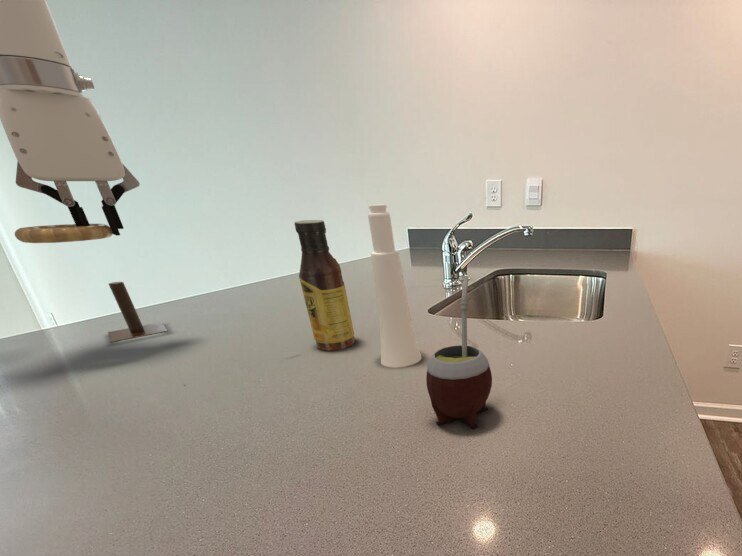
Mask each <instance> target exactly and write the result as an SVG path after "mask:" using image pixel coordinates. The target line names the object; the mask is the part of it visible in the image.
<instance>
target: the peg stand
mask: <svg viewBox="0 0 742 556" xmlns="http://www.w3.org/2000/svg"><path fill="white" fill-rule="evenodd" d="M108 286H109V289H110V290H111V293H112V296H113V297H114V299H115V301H116V304H117V306H118V308H119V310H120V312H121V314H122V317H123V320H124V321H125V323H126V325H127V328H122V329H118V330H112V331H107V334H108V338H109V341H110V343H111V344H112V343H116V342H122V341H126V340H132V339H136V338H141V337H146V336H147V337H148V336H152V335H156V334H162V333H168V330H167V328H166V326H165V325H164V324H163V322H155V323H154V322H153V323H148V324H145V325H143V323H142V321H141V319H140V316H139V314H138V312H137V310H136V307H135V305H134V303H133V300H132V298H131V296H130V294H129V292H128V289H127V287H126V284H125V283H124V281H114V282H113V281H112V282H109V283H108Z"/></svg>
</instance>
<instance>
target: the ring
mask: <svg viewBox="0 0 742 556" xmlns="http://www.w3.org/2000/svg"><path fill="white" fill-rule="evenodd" d="M89 224H90V226H81V227H76V224H75V223H66V224H48V225H36V226H35V225H34V226H26V227H24V226H23V227H18V228H17V229H16V230H15V231H14V236H15V239H17V240H18V241H20V242H21V243H24V244H56V243H58V244H59V243H71V242H73V243H75V242H84V241H94V240H101V239H107V238H111V237H112V236H113V232H112V229H111V228H110V226H109V225H108V224H105V223H89Z"/></svg>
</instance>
